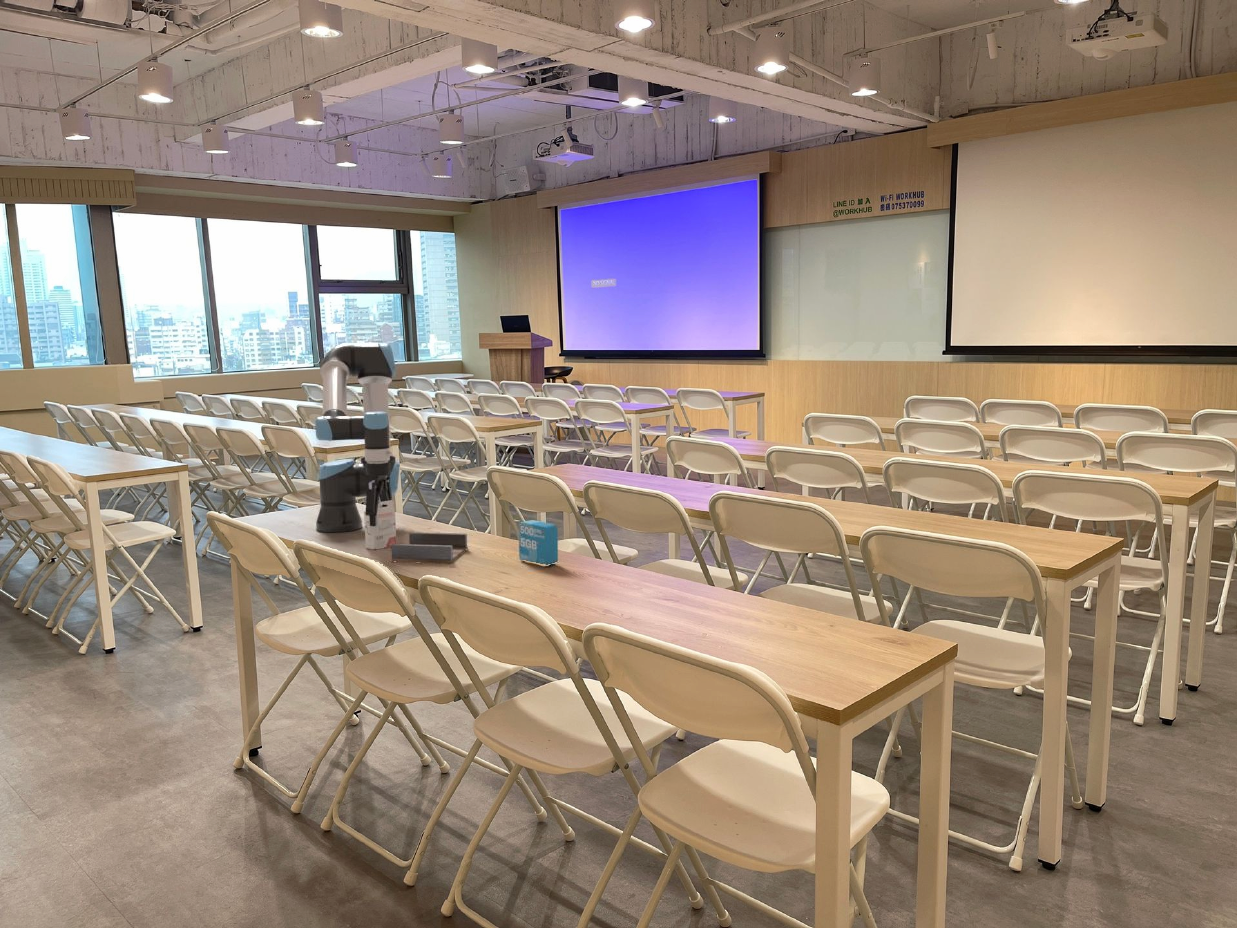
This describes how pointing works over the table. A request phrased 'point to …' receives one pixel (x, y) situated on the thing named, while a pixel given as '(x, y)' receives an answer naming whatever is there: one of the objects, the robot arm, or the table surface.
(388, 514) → the ink cartridge box
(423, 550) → the track board
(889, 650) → the table surface
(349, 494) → the robot arm
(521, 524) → the data package
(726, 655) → the table surface
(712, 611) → the table surface
